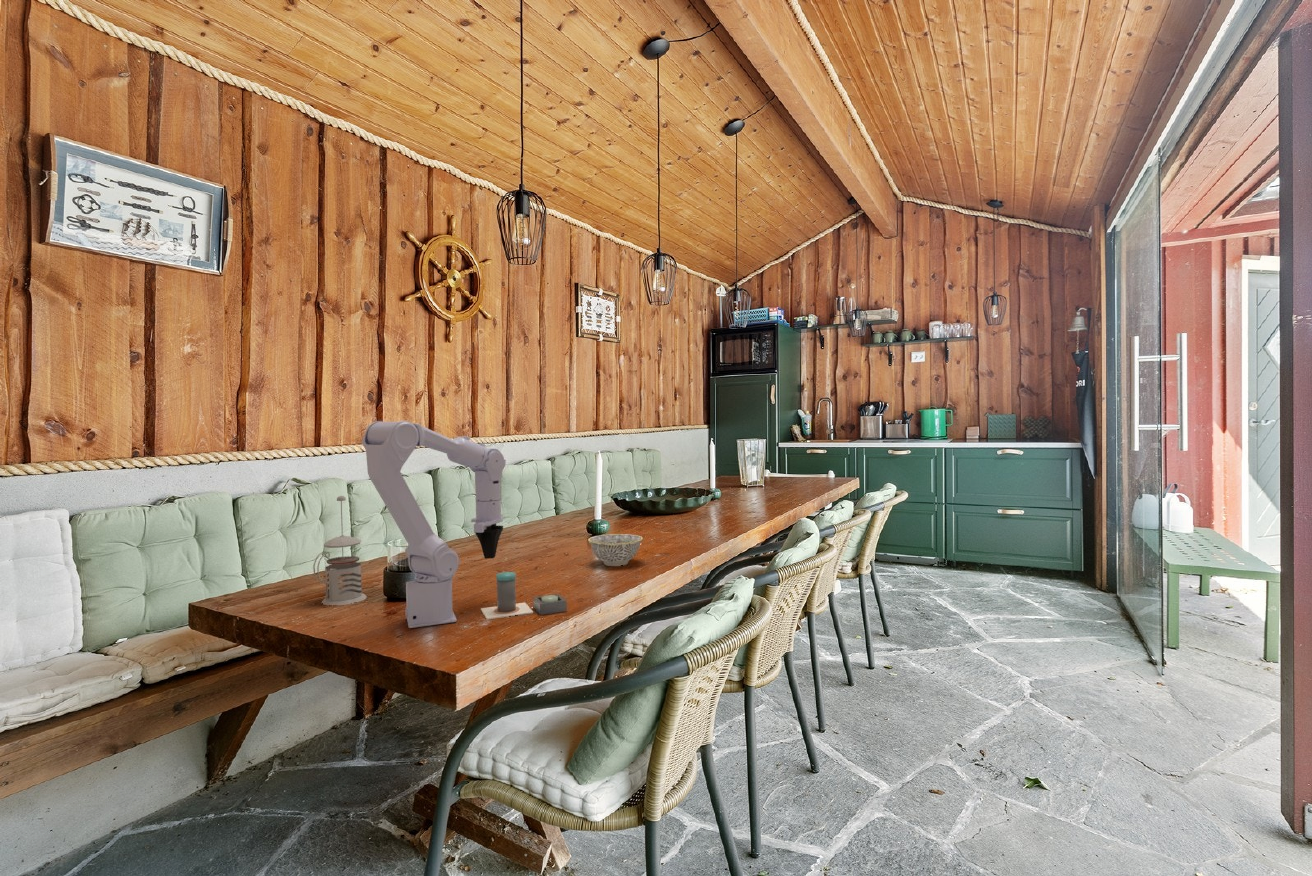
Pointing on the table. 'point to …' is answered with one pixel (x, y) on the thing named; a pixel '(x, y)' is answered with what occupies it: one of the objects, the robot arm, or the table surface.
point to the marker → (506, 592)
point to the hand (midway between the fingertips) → (489, 557)
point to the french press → (342, 572)
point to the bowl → (615, 548)
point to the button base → (550, 605)
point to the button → (549, 598)
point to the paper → (494, 614)
